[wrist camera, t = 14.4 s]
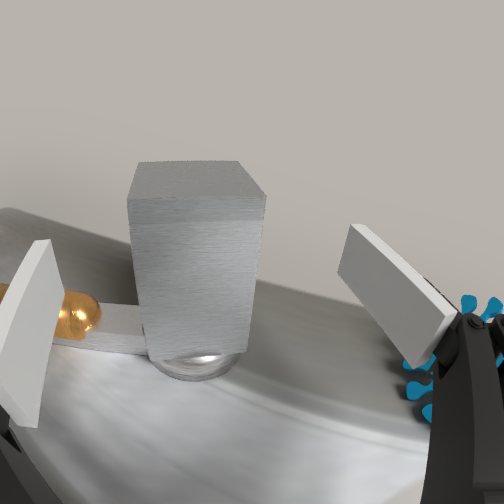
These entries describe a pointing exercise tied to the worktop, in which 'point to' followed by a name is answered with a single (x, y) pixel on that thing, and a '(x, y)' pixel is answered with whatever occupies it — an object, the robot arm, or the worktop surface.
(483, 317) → the gear
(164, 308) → the brushed metal block
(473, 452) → the robot arm
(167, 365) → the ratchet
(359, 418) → the worktop surface
